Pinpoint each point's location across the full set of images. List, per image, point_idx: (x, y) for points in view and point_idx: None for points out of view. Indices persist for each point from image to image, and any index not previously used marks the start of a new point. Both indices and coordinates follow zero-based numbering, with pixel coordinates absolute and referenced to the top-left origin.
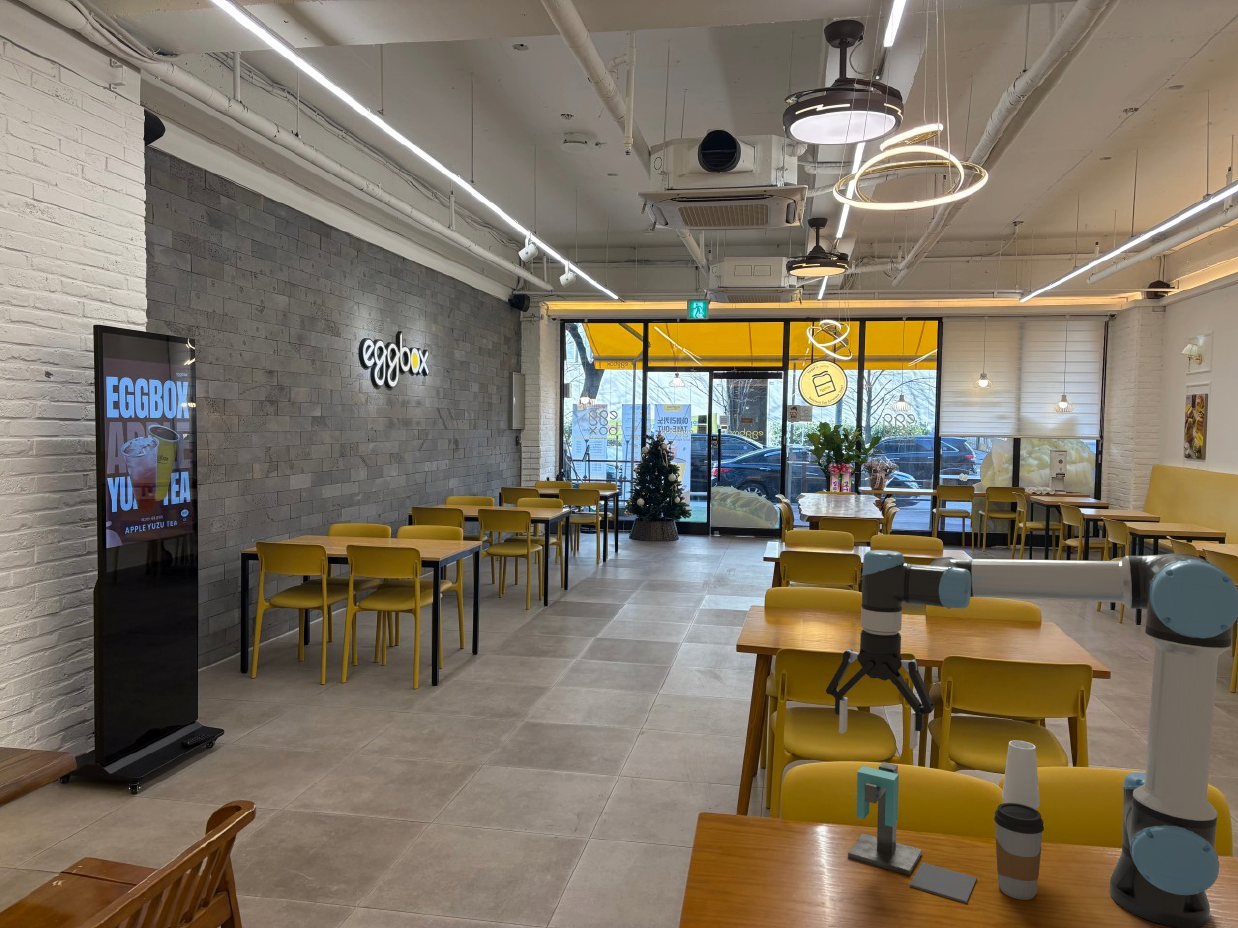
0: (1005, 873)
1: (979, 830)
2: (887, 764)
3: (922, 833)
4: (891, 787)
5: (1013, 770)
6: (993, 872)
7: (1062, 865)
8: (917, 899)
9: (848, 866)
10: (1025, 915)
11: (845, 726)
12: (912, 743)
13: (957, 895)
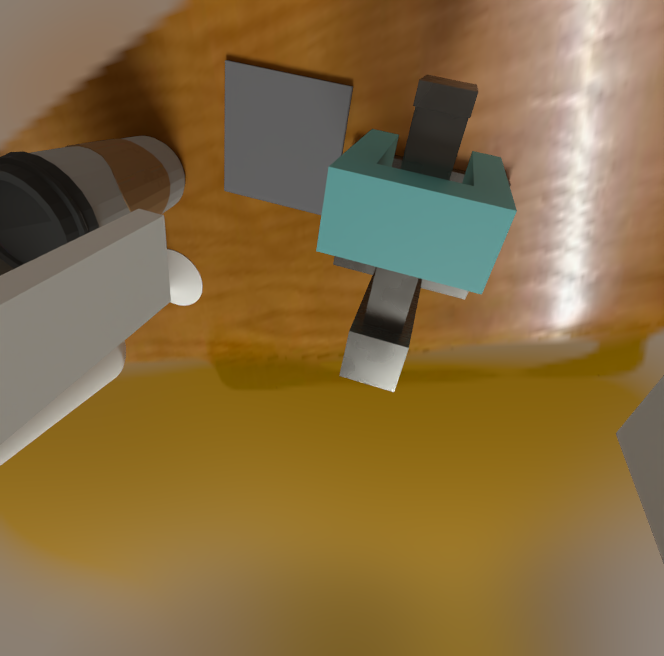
0: (141, 149)
1: (249, 379)
2: (376, 373)
3: (340, 346)
4: (348, 159)
5: None
6: (204, 232)
7: None
8: (331, 17)
9: (511, 129)
10: (122, 66)
11: (650, 435)
12: (121, 222)
13: (246, 81)
